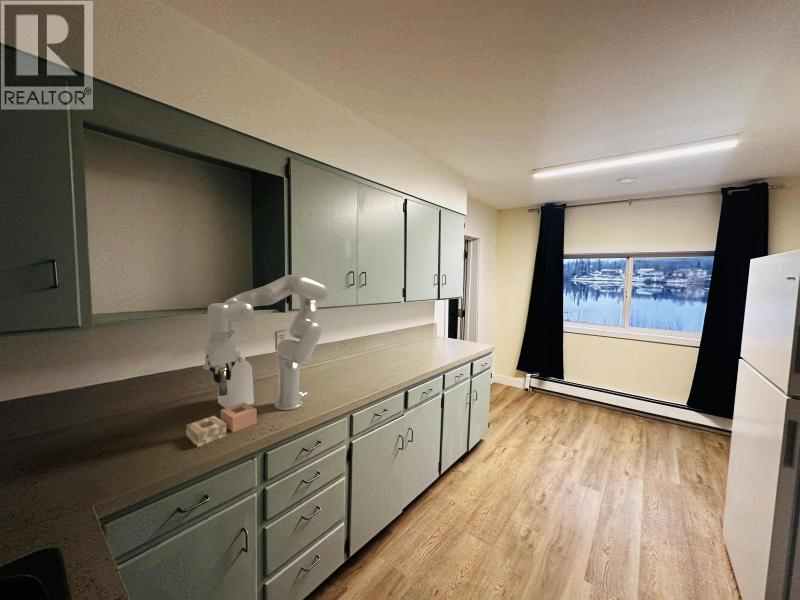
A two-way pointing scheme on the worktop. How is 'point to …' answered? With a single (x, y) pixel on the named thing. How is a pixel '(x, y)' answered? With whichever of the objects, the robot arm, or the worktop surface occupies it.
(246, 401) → the milk
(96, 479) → the worktop surface
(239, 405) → the dock
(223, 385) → the pin
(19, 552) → the worktop surface
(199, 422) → the mount
